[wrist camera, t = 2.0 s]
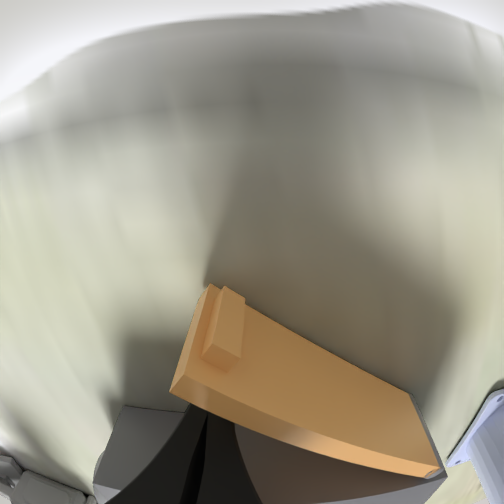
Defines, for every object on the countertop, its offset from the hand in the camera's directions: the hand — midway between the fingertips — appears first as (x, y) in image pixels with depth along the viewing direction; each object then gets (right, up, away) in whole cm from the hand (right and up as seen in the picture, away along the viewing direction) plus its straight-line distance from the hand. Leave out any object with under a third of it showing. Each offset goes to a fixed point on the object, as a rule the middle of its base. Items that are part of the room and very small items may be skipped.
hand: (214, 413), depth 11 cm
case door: (+5, +2, +2) cm, 5 cm away
